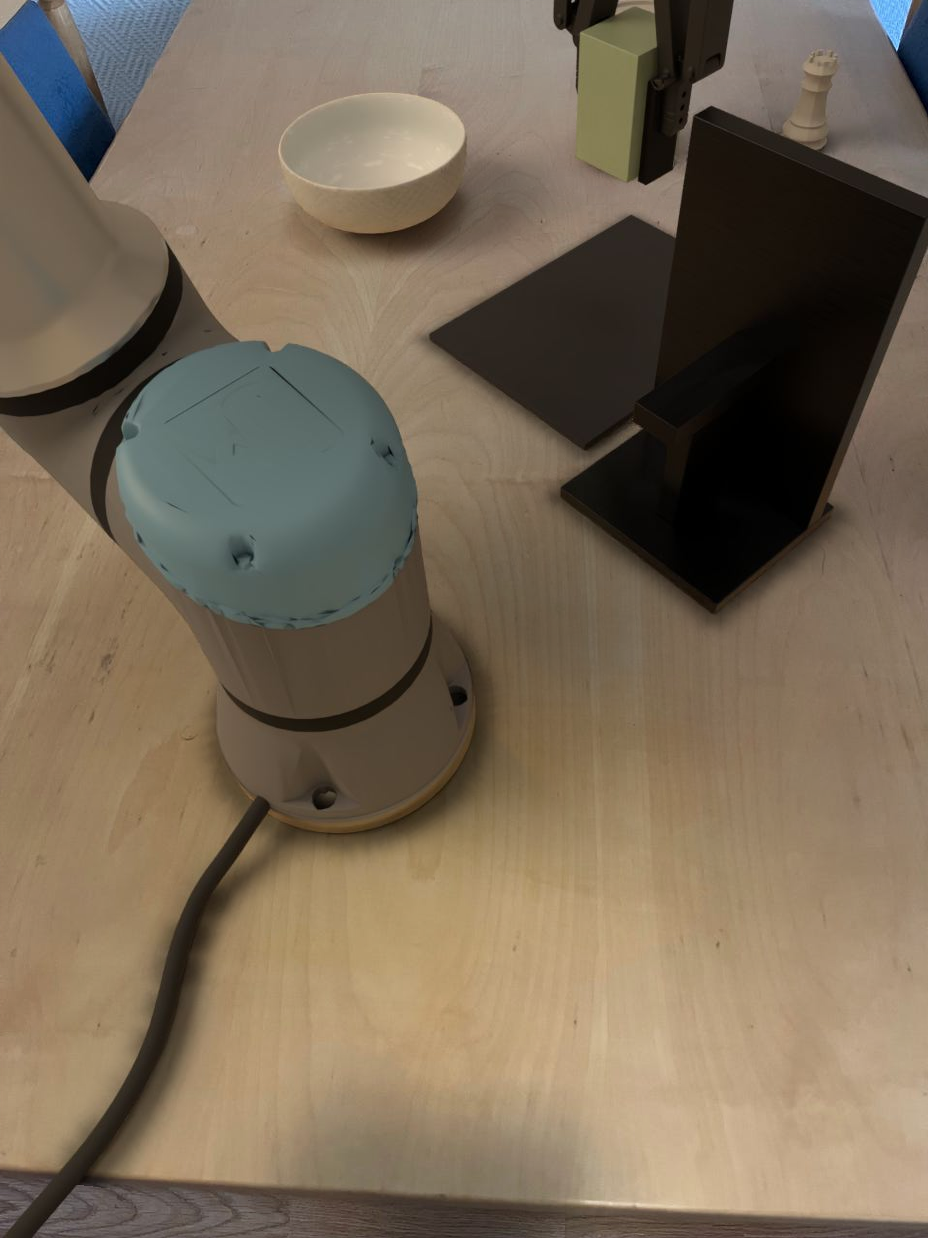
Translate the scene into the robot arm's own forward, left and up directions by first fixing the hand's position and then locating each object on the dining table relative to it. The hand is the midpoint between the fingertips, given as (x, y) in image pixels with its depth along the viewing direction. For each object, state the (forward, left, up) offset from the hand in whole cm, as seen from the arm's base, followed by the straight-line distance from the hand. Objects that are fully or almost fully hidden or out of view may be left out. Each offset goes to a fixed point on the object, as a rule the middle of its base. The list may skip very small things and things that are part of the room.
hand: (625, 159), depth 64 cm
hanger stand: (-11, -18, -14) cm, 25 cm away
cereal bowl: (-3, +27, -14) cm, 30 cm away
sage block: (0, 0, 0) cm, 0 cm away
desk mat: (0, 0, -14) cm, 14 cm away
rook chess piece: (+33, +6, -14) cm, 36 cm away
